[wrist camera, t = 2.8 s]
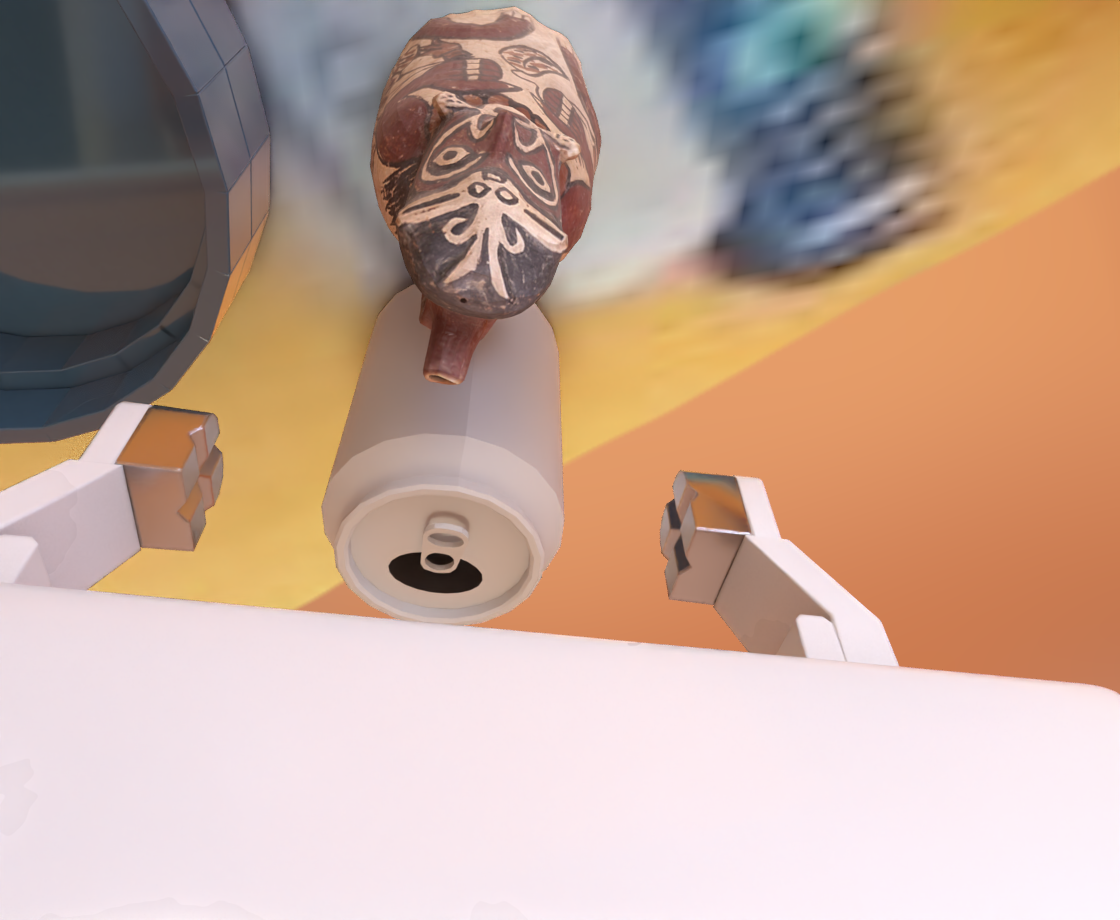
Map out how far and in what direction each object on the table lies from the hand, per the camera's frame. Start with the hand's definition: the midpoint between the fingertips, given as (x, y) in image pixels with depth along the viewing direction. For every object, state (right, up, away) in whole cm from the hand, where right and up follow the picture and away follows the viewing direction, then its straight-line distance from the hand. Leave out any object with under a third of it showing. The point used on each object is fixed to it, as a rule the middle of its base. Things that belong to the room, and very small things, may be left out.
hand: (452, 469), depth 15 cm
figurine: (0, +12, +13) cm, 18 cm away
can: (-2, +5, +19) cm, 20 cm away
